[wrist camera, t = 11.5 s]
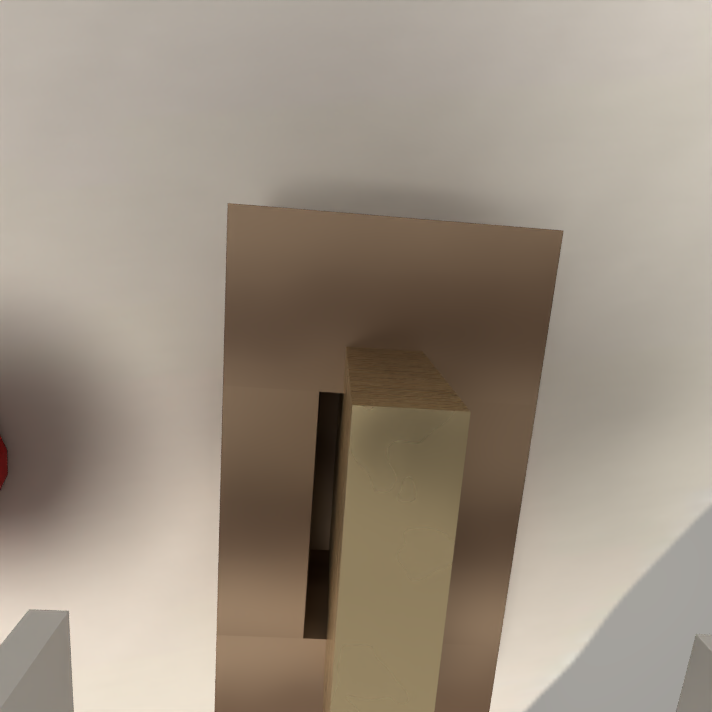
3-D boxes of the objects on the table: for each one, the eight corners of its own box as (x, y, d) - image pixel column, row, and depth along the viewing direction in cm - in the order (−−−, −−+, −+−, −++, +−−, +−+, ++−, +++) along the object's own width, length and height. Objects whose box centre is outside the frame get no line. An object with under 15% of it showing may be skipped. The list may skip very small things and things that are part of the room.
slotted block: (257, 213, 21) (227, 203, 15) (501, 233, 22) (563, 230, 16) (241, 643, 25) (213, 764, 20) (447, 651, 26) (479, 771, 20)
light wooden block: (343, 322, 21) (351, 405, 11) (402, 326, 21) (470, 411, 11) (326, 586, 24) (318, 870, 13) (379, 588, 24) (415, 871, 13)
